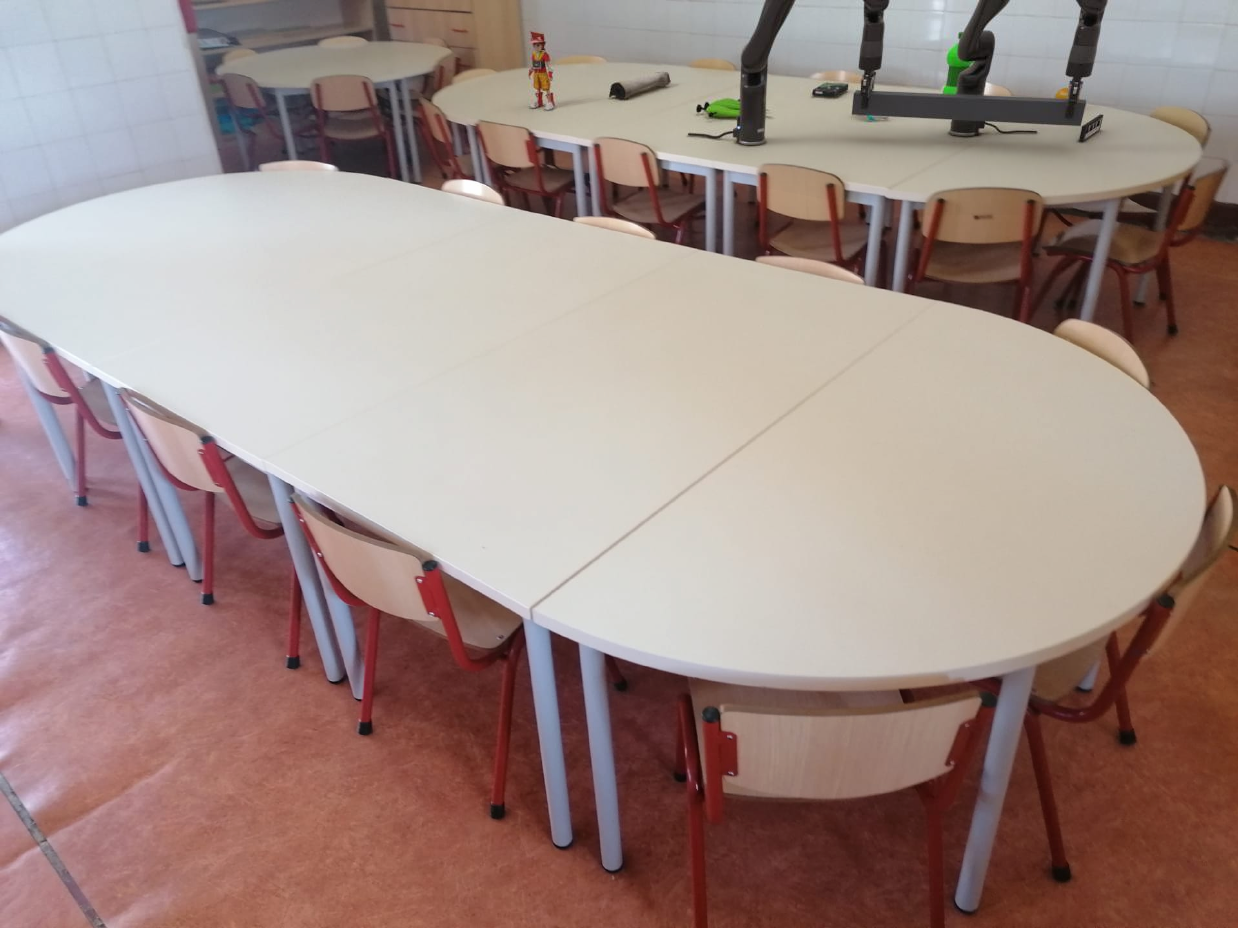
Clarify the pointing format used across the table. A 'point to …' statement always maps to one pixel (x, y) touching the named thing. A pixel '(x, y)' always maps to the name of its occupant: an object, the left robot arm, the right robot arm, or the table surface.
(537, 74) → the toy
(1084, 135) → the midi keyboard
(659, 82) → the rolled mat
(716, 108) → the toy
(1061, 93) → the fruit
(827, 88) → the disk drive
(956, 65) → the plastic bottle
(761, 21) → the left robot arm
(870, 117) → the anatomical model
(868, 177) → the table surface
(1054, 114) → the post
